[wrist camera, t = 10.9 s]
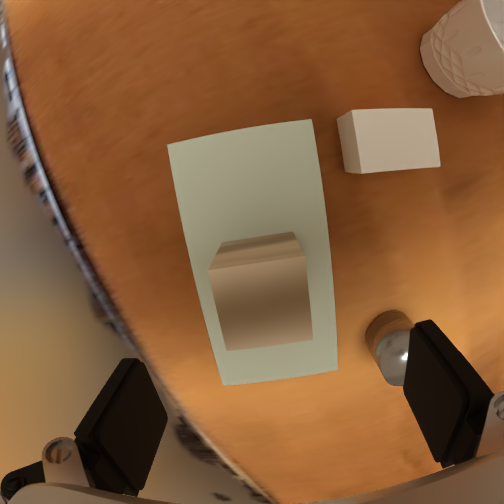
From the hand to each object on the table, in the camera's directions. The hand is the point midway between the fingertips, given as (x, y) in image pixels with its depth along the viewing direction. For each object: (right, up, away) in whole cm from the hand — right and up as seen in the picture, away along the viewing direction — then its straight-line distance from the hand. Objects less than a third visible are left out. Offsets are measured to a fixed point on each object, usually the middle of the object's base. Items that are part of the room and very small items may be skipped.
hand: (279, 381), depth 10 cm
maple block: (0, +3, +12) cm, 13 cm away
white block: (+9, +13, +11) cm, 19 cm away
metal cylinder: (+11, -3, +15) cm, 19 cm away
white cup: (+16, +21, +9) cm, 28 cm away
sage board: (0, +3, +14) cm, 14 cm away
